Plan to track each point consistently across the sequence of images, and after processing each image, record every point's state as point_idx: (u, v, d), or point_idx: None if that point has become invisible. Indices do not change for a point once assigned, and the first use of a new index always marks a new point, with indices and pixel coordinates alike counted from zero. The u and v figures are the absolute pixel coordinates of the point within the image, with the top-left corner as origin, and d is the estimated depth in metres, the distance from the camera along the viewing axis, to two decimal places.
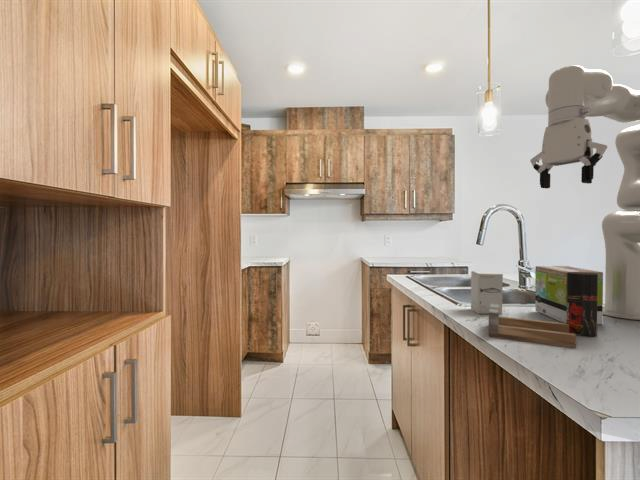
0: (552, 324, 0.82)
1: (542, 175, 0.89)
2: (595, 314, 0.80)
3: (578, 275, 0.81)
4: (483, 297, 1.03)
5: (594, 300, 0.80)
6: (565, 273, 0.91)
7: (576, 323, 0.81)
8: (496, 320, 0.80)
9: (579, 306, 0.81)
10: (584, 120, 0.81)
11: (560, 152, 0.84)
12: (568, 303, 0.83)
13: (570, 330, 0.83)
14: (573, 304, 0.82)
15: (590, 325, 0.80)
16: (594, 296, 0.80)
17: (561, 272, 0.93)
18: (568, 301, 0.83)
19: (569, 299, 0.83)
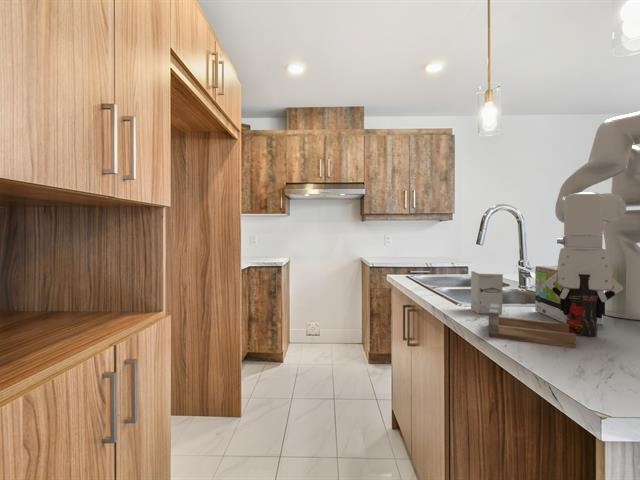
0: (552, 324, 0.82)
1: None
2: (595, 314, 0.80)
3: None
4: (483, 297, 1.03)
5: (593, 300, 0.80)
6: None
7: (576, 323, 0.81)
8: (496, 320, 0.80)
9: (579, 306, 0.81)
10: None
11: None
12: (568, 303, 0.83)
13: (570, 330, 0.83)
14: (573, 304, 0.82)
15: (590, 325, 0.80)
16: (594, 296, 0.80)
17: None
18: (568, 301, 0.83)
19: (569, 299, 0.83)
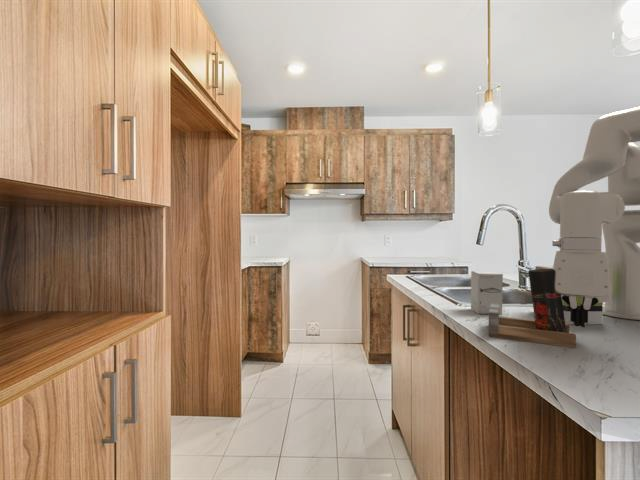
0: None
1: None
2: (561, 311, 0.77)
3: (538, 273, 0.78)
4: (483, 297, 1.03)
5: (557, 297, 0.77)
6: None
7: (543, 322, 0.78)
8: (496, 320, 0.80)
9: (544, 304, 0.78)
10: None
11: None
12: (533, 302, 0.80)
13: None
14: (538, 303, 0.79)
15: (558, 323, 0.77)
16: (557, 293, 0.77)
17: None
18: (533, 300, 0.80)
19: (533, 298, 0.80)
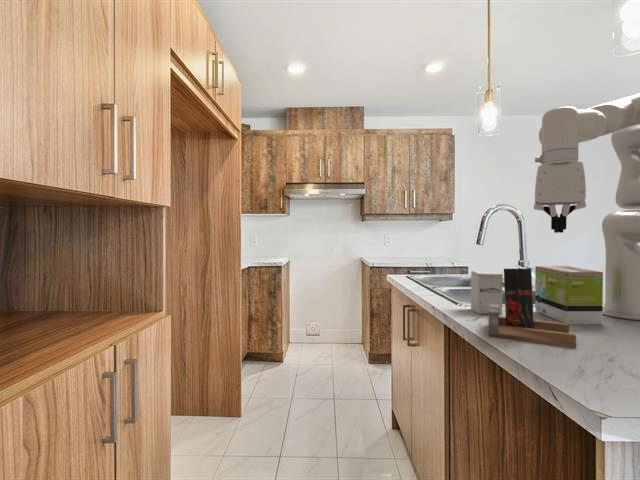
0: (552, 324, 0.82)
1: None
2: (531, 309, 0.80)
3: (513, 270, 0.82)
4: (483, 297, 1.03)
5: (528, 294, 0.80)
6: (565, 273, 0.91)
7: (514, 318, 0.81)
8: (496, 320, 0.80)
9: (515, 301, 0.81)
10: None
11: None
12: (506, 299, 0.83)
13: None
14: (510, 299, 0.82)
15: (527, 319, 0.80)
16: (528, 290, 0.80)
17: (561, 272, 0.93)
18: (505, 297, 0.83)
19: (506, 295, 0.83)
